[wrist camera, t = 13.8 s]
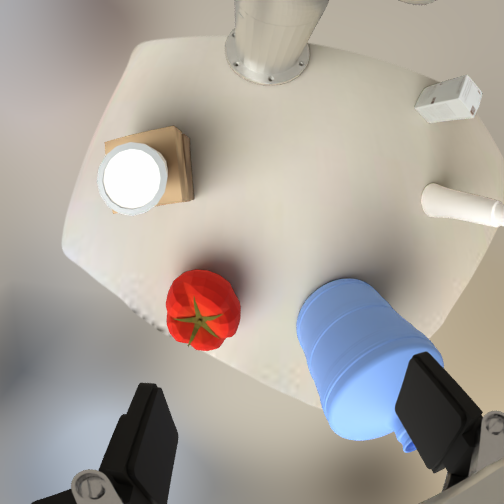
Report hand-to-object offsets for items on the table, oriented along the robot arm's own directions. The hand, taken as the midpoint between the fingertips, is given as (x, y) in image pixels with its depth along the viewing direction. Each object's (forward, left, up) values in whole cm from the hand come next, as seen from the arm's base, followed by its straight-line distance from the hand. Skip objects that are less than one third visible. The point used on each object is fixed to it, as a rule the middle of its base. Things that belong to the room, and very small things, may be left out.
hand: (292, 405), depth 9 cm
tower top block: (-10, -13, -29) cm, 33 cm away
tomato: (+10, -8, -34) cm, 36 cm away
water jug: (+16, +14, -34) cm, 40 cm away
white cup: (-10, -12, -24) cm, 29 cm away
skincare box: (-21, +32, -34) cm, 51 cm away
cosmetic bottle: (-4, +32, -34) cm, 46 cm away
